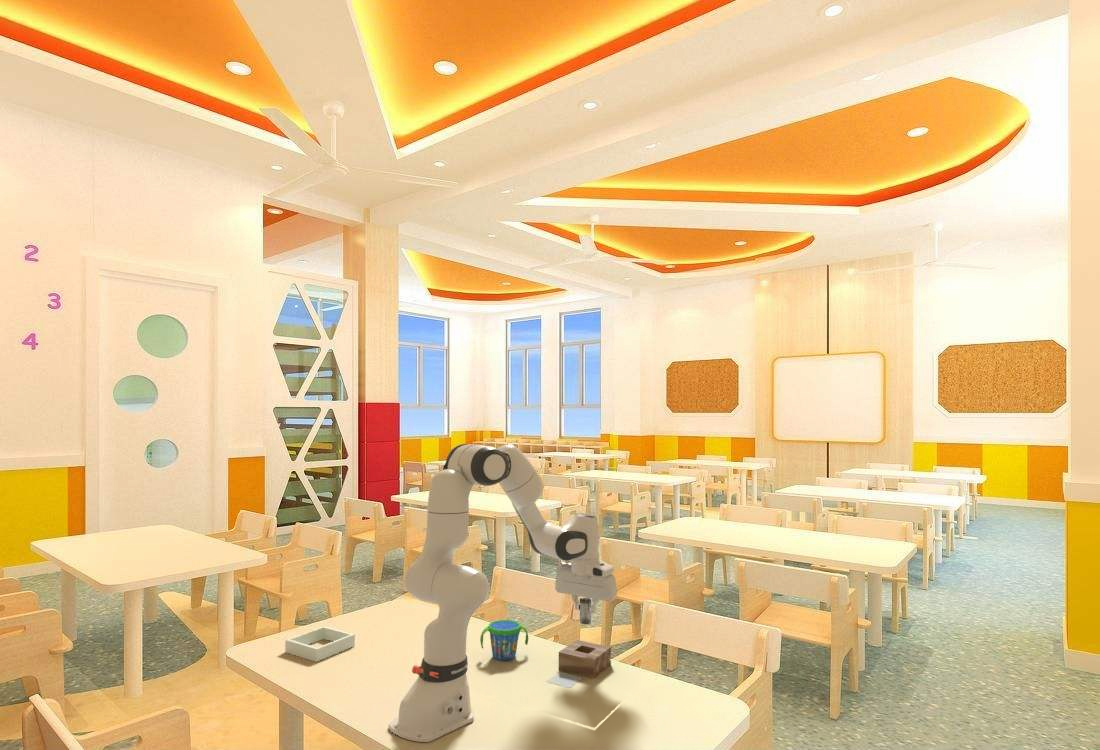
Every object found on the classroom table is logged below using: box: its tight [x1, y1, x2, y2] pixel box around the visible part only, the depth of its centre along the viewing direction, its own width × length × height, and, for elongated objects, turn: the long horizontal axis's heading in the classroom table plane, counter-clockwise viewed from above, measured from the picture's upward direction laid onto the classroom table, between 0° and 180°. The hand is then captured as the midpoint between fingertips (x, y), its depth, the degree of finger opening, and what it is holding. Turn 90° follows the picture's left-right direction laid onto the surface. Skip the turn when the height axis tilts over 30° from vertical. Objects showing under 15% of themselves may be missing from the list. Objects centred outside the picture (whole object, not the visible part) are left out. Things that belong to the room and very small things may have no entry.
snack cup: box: [479, 619, 529, 661], centre depth 203 cm, size 16×10×10 cm
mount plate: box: [545, 671, 583, 689], centre depth 185 cm, size 8×8×1 cm
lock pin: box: [579, 597, 592, 625], centre depth 195 cm, size 4×4×7 cm
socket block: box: [558, 639, 612, 680], centre depth 194 cm, size 12×12×6 cm
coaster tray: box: [284, 625, 356, 663], centre depth 209 cm, size 16×16×4 cm
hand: (585, 610), depth 195 cm, fingers closed on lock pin, 4 cm apart
